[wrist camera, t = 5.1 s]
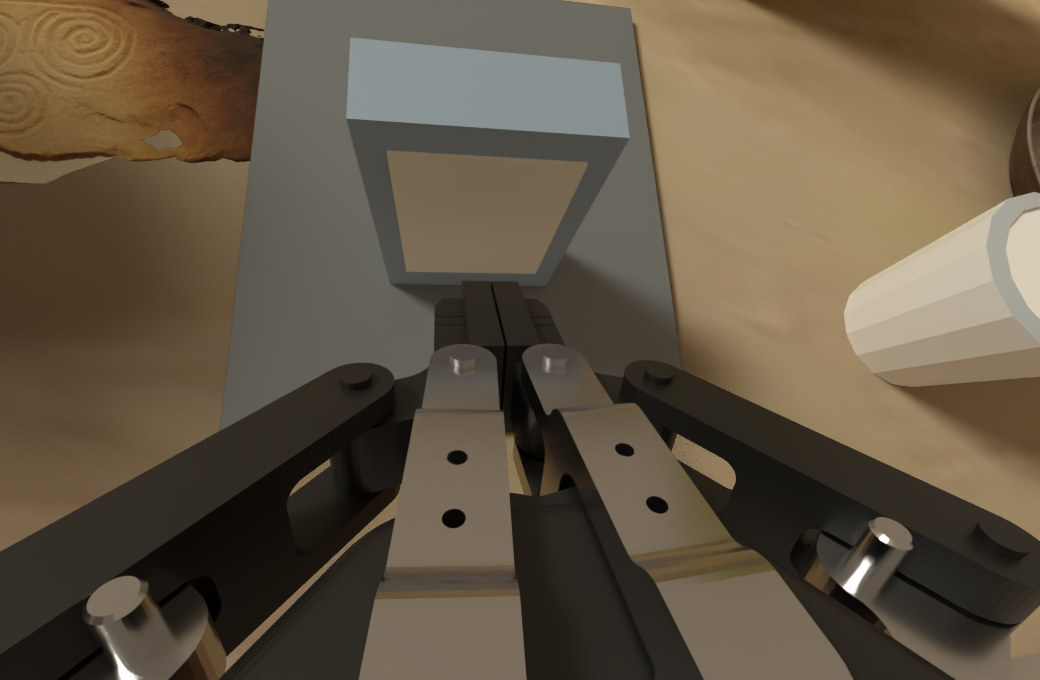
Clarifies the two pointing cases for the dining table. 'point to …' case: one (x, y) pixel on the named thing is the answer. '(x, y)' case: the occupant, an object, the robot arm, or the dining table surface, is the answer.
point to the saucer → (1027, 151)
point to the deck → (480, 156)
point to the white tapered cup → (957, 304)
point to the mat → (349, 224)
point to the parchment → (120, 86)
